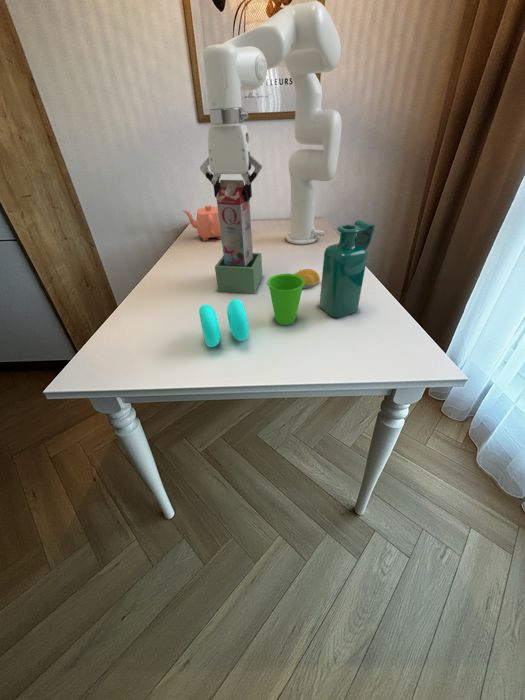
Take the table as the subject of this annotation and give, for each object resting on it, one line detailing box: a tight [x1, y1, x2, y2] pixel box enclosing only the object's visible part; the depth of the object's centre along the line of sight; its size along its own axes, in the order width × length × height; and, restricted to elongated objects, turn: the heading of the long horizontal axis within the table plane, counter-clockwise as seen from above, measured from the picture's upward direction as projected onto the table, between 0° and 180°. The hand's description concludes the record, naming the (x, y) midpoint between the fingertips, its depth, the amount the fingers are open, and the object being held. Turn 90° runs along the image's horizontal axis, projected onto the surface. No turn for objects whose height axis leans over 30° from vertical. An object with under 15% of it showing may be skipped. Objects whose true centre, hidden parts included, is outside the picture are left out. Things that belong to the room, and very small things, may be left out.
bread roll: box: [293, 268, 321, 289], centre depth 97 cm, size 8×9×4 cm
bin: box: [214, 252, 263, 294], centre depth 96 cm, size 12×12×8 cm
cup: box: [266, 273, 305, 326], centre depth 78 cm, size 9×9×11 cm
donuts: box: [198, 298, 250, 348], centre depth 72 cm, size 10×10×10 cm
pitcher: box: [319, 219, 376, 319], centre depth 78 cm, size 10×8×22 cm
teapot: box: [181, 204, 222, 242], centre depth 132 cm, size 15×17×13 cm
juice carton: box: [215, 179, 254, 267], centre depth 87 cm, size 7×7×22 cm
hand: (233, 199), depth 84 cm, fingers closed on juice carton, 7 cm apart
